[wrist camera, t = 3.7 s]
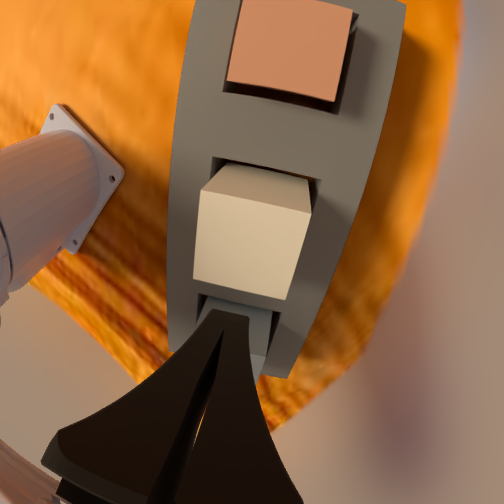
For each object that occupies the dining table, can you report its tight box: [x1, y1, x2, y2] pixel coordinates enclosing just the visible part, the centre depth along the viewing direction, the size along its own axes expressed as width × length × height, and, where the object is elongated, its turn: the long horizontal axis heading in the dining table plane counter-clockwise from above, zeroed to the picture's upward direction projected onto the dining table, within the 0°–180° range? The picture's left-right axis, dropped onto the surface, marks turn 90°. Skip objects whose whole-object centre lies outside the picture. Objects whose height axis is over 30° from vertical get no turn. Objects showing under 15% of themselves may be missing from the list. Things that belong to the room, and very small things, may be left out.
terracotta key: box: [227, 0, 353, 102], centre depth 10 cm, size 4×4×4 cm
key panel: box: [166, 0, 406, 379], centre depth 15 cm, size 24×9×3 cm, turn 170°
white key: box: [193, 162, 311, 300], centre depth 13 cm, size 4×4×4 cm
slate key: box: [192, 295, 273, 386], centre depth 17 cm, size 4×4×4 cm
